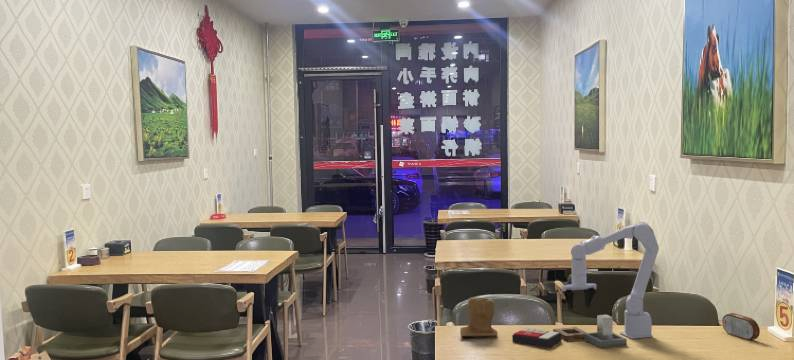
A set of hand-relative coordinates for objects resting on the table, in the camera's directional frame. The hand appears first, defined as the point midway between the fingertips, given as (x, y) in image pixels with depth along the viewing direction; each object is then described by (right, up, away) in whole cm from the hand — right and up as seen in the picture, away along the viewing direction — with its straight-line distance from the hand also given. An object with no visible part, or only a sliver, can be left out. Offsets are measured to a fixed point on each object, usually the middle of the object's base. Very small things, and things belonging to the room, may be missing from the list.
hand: (579, 307), depth 252 cm
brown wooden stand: (-41, -10, -4) cm, 43 cm away
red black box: (-20, -11, -13) cm, 26 cm away
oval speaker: (+59, -9, -11) cm, 60 cm away
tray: (+5, -10, -16) cm, 19 cm away
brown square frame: (-5, -10, -7) cm, 13 cm away
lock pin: (+5, -9, -16) cm, 19 cm away
